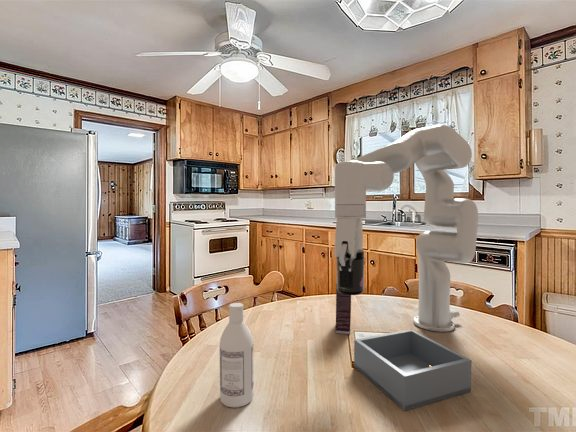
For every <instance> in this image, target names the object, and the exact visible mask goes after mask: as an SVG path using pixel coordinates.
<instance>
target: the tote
mask: <svg viewBox="0 0 576 432" xmlns="http://www.w3.org/2000/svg"><path fill="white" fill-rule="evenodd" d="M353 343H354V346H353V352H354V353H353V363H354V364H353V368H355V369H356V370H357V371H358V372H359V373H360V374H362V375H363V376H364V377H365V378H366V379H367V380H368V381H369V382H370V383H371V384H373V385H374V386H375V387H376V388H377V389H378V390H380V391H381V392H382V393H383V394H384V395H385V396H386V397H387V398H389V399H390V400H391V401H392V402H393V403H394V404H396V405H397V406H398V407H399V408H400V409H401V410H402V411H403V412H406V411H410V410H414V409H416V408H420V407H423V406H427V405H430V404H434V403H437V402H441V401H444V400H447V399H450V398H455V397H458V396H461V395H464V394H468V393H471V392H472V359H470V358H469V357H466V356H465V355H462V354H460V353H459V352H458V351H455V350H453V349H452V348H449V347H447V346H445V345H443V344H441V343H438V341H435V340H434V339H432V338H429V337H428V336H426V335H424V334H422V333H420V332H418V331H416V330H414V329H413V328H412V329H406V330H400V331H394V332H389V333H388V332H387V333H383V334H378V335H372V336H366V337H361V338H357V339H354V342H353ZM429 365H431V366H432V367H429Z"/></svg>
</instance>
